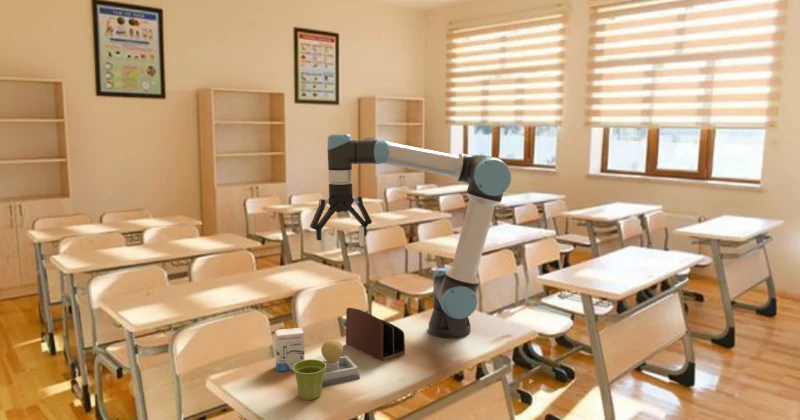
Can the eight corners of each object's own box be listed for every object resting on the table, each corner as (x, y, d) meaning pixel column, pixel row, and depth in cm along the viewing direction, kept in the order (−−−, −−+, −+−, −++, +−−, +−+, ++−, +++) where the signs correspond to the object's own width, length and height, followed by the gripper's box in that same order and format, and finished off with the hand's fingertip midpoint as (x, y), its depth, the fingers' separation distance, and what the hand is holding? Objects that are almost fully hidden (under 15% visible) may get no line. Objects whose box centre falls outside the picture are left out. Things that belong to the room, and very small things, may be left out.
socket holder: (346, 363, 190) (345, 354, 189) (359, 378, 179) (359, 368, 179) (305, 371, 184) (305, 361, 184) (317, 387, 174) (317, 377, 173)
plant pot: (328, 387, 174) (327, 358, 172) (325, 402, 164) (324, 372, 163) (296, 388, 173) (294, 359, 172) (291, 403, 164) (290, 373, 163)
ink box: (277, 372, 184) (275, 335, 182) (275, 365, 189) (274, 329, 187) (305, 368, 186) (303, 332, 184) (303, 362, 191) (302, 327, 189)
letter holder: (381, 362, 191) (381, 319, 189) (345, 344, 206) (344, 305, 204) (405, 354, 197) (405, 312, 195) (368, 337, 212) (367, 299, 210)
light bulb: (339, 376, 178) (338, 344, 176) (319, 375, 179) (318, 343, 178) (345, 367, 184) (345, 336, 182) (325, 366, 185) (324, 335, 184)
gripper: (372, 179, 201) (373, 241, 204) (299, 183, 190) (301, 249, 194) (381, 181, 194) (382, 246, 197) (305, 186, 184) (308, 254, 187)
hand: (342, 247), depth 196 cm, fingers open, 13 cm apart
